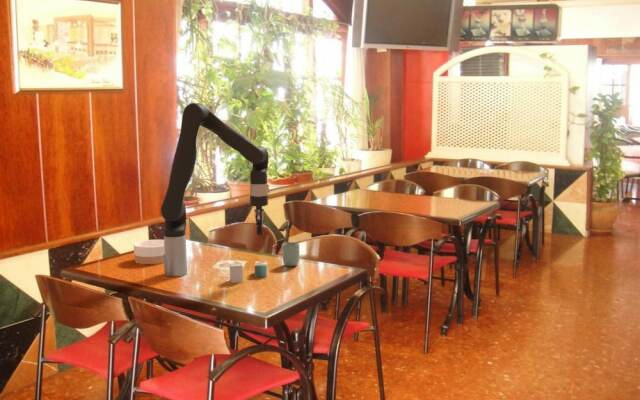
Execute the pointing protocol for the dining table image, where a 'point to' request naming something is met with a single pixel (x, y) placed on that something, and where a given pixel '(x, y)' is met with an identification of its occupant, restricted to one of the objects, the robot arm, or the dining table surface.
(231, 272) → the grey block
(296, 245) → the cup
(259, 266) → the blue canister
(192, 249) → the dining table surface
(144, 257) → the bowl
